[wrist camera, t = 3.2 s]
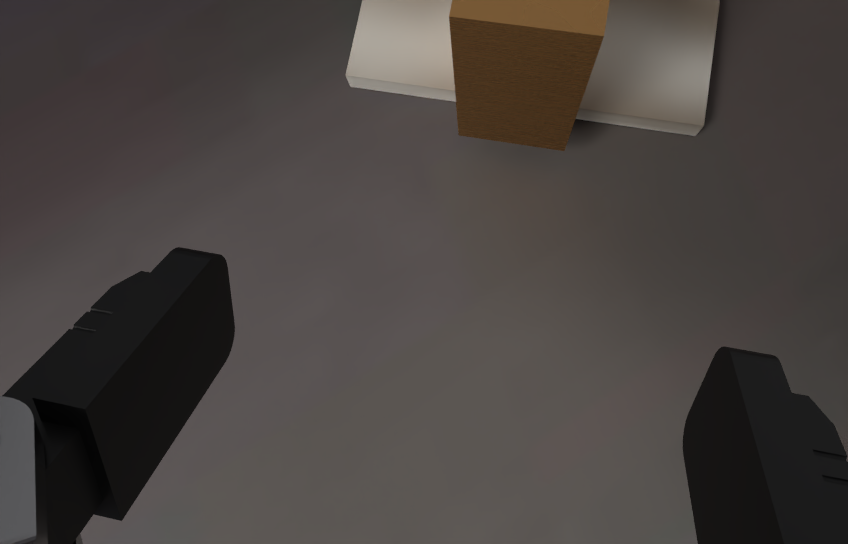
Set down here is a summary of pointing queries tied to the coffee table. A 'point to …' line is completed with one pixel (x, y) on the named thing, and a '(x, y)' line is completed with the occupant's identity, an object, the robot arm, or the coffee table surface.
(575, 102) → the shaft
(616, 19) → the base board
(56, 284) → the coffee table surface
